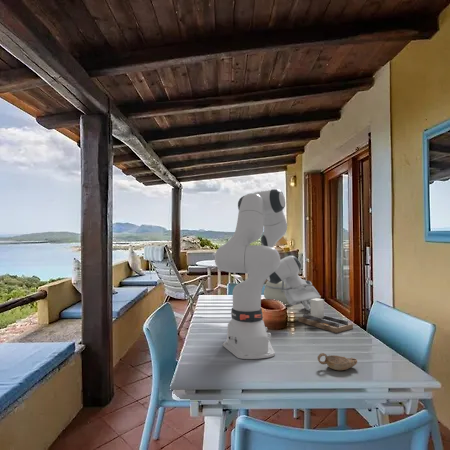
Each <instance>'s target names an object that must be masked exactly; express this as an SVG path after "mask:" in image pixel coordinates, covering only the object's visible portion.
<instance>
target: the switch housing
mask: <svg viewBox="0 0 450 450" xmlns="http://www.w3.org/2000/svg"><path fill="white" fill-rule="evenodd" d="M298 323H302V324H304V325H307V326H308V325H309V326H312V327H315V328H318V329H319V328H320V329H323V330H325V331H329V332H332V333H335V334H338V333H341V332H345V331H349V330H351V329H354V324H353V323H350V322H349V320H346V319H343V318H342V319H341V318H337V317H335V316H334V317H333V316H329V315H326V314H324V318H322V319H321V318H318V317H314V316H311V314H306V313H303V314H302V316H299V317H298Z"/></svg>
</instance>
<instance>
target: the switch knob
mask: <svg viewBox="0 0 450 450" xmlns="http://www.w3.org/2000/svg"><path fill="white" fill-rule="evenodd" d="M310 315H311V316H314V317H318V318H321V319H322V318H324V315H325V298H324V299H323V298H321V299H319V298H315V299H311V311H310Z"/></svg>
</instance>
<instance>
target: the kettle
mask: <svg viewBox="0 0 450 450" xmlns="http://www.w3.org/2000/svg"><path fill="white" fill-rule="evenodd" d="M265 282H266V283H264V285H263V287H264V291H263V297H264V299H265V300H266V299H275V300H279V301H281V302H283V303H284V304H286V305H285V306H290V304H289V302H288V301H287V298H286V296H285V293H284V289H285V288H287V287H286V284H285V282H284V281H283V280H282V281H281V282H279V283H277V284H274V283H270V282H269V281H268V280H266V281H265Z"/></svg>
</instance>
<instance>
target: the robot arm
mask: <svg viewBox="0 0 450 450" xmlns="http://www.w3.org/2000/svg"><path fill="white" fill-rule="evenodd" d="M284 195H285V194H284V193H283V191H281V190H280V189H275V188H274V189H270V190H263V191H262V190H261V191H256V192H253V193H252V192H251V193H250V192H249V193H247V194H245V195H243V196H241V197H240V198H239V200H238V202H237V209H238V214H237V220H236V221H237V222H236V228H235V231H234V232H233V234H232V237H231V238H229V240H228V241H227V242H226V243H225V244H222V245H221V246H220V247H218V248H217V249H216V251H215V253H214V263H215V266H216V267H217V269H218V270H219V271H223V272H226V273H232V274H238V273H239V274H248V276H247V279H245V280H243V281H241V282H239V283H237V284H236V285H235V286H234V287H233V289H232V307H231V311H230V313H231V315H230V316H231V320H230V321H229V322H228V323H227V331H226V332H227V333H226V340H225V341H224V342H223V343H222V346H223V348H225V349H226V350H227V351H229V352H230V353H231V354H233V355H234V356H235V357H236V358H238V359H241V360H242V359H244V360H258V359H259V360H260V359H266V358H272V357H274V356H276V352H275V350H274V348H273V346H272V343H271V341H270V340H271V339H272V334H271V332H267V331H268V327H267V326H265V321H264V320H263V310H262V308H261V307H262V305H261V304H262V293H263V292H262V291H263V287H264V285H265V284H266V283H265V282H267V281H269V282H270V283H274V284H277V283H279V282H281V281H282V280H283V281H284V282H285V284H286V287H287V288H285V289H284V293H285V296H286V298H287V301H288V302H289V306H296V305H302V306H303V307H304V306H305V307H306V308H307V309H308V310H307V311H310V310H311V299H315V298H320V296H321V295H320V293H319V292H318V290H317V289H316V288H315V286H314V285H313V283H312V281H311V280H306V279H304V278H303V279H302V278H301V276H300V275H299V273H300V271H301V270H302V269H301V268H302V264H301V262H300V260H299V259H298V258H297V257H296V256H295V255H287V256H285V257H282V258H281V255H280V253H279V251H278V249H276V248H275V247H274V246H275V245H276V244H277V243H278V241H279V240H281V239H282V238H283V237H284V235H285V234H286V233H287V230H288V223H287V220H286V217H285V213H284V211H283V210H284V209H285V207H286V199H285V196H284ZM258 240H260V243H261V244H260V245H259V244H255V245H253V244H252V243H254V242H256V241H258ZM308 304H309V305H308ZM305 307H304V308H305ZM306 308H305V309H306Z"/></svg>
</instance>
